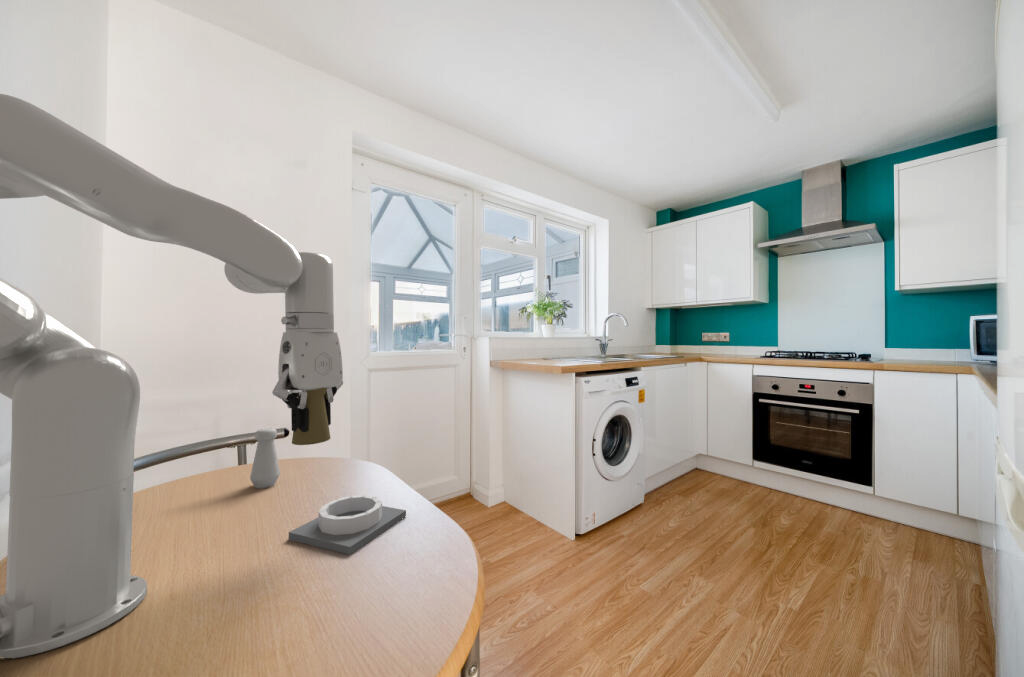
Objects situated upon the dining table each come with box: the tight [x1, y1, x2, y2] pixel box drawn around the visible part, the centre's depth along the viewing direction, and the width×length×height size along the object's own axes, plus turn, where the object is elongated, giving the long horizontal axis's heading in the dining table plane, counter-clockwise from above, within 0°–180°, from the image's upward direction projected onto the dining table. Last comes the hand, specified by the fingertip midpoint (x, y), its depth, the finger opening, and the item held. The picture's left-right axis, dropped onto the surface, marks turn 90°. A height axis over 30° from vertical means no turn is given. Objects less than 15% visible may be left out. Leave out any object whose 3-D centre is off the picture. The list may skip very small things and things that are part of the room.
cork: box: [291, 388, 331, 446], centre depth 66 cm, size 6×6×11 cm
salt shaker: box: [249, 427, 281, 489], centre depth 87 cm, size 6×6×13 cm
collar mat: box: [288, 494, 407, 555], centre depth 66 cm, size 14×13×4 cm
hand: (311, 427), depth 66 cm, fingers closed on cork, 4 cm apart
